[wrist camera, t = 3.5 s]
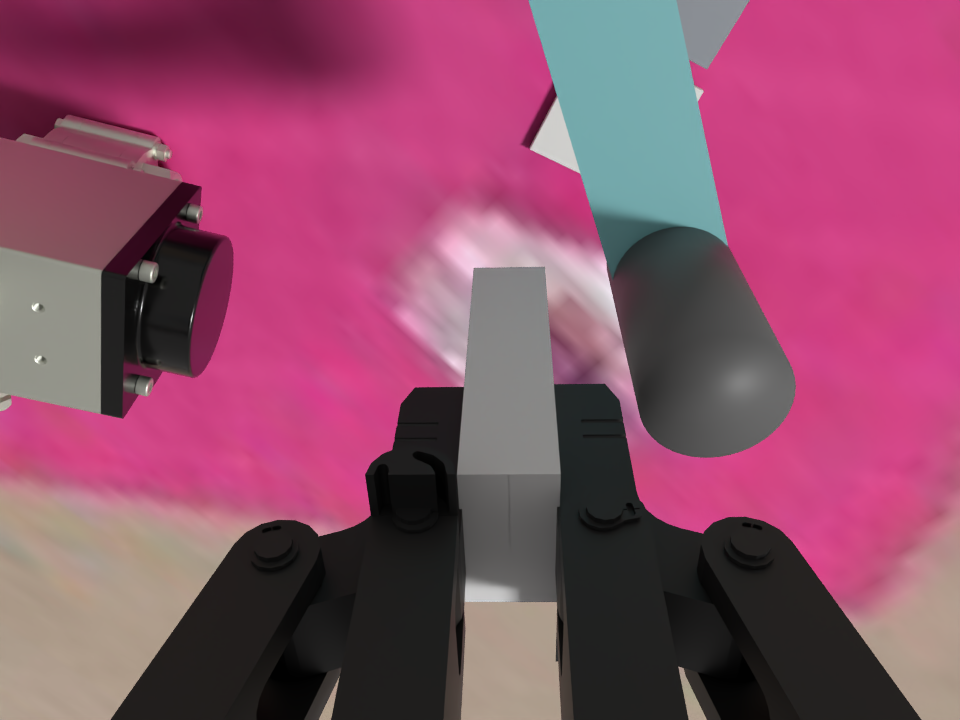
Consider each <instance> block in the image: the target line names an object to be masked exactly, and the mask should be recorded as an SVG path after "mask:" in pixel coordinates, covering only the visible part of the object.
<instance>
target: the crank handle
mask: <svg viewBox="0 0 960 720" xmlns="http://www.w3.org/2000/svg"><path fill="white" fill-rule="evenodd" d="M529 4H530V7H531V10H532V14H533V17H534V20H535V24H536V27H537V30H538V34H539V37H540V40H541V44H542V47H543V50H544V54H545V57H546V60H547V64H548V67H549V70H550V74H551V77H552V80H553V84H554V87H555V90H556V94H557V97H558V100H559V104H560V107H561V110H562V114H563V117H564V120H565V124H566V127H567V130H568V134H569V137H570V140H571V144H572V147H573V150H574V154H575V157H576V160H577V164H578V167H579V170H580V174H581V177H582V180H583V184H584V187H585V190H586V194H587V197H588V200H589V204H590V207H591V210H592V214H593V217H594V220H595V224H596V227H597V231H598V234H599V237H600V241H601V244H602V247H603V251H604V254H605V257H606V261H607V272H608V277H609V281H610V285H611V290H612V294H613V299H614V303H615V308H616V312H617V316H618V321H619V325H620V330H621V334H622V339H623V343H624V347H625V352H626V356H627V361H628V365H629V369H630V374H631V378H632V383H633V387H634V392H635V396H636V400H637V405H638V409H639V414H640V418H641V420H642V423H643V425H644V427H645V428H646V430H647V432H648V433H649V434H650V435H651V436H652V438H654V439H655V440H656V441H657V442H658V443H659V444H661V445H662V446H664V447H666V448H667V449H670V450H672V451H674V452H677V453H680V454H683V455H687V456H692V457H721V456H726V455H731V454H734V453H738V452H741V451H743V450H746V449H748V448H750V447H752V446H754V445H756V444H758V443H759V442H761V441H762V440H764V439H765V438H767V437H768V436H769V435H770V434H772V433H773V432H774V431H775V430H776V429H777V428H778V427H779V426H780V424H781V423H782V422H783V421H784V419H785V418H786V416H787V414H788V413H789V411H790V409H791V406H792V404H793V400H794V396H795V387H796V385H795V377H794V373H793V370H792V367H791V365H790V363H789V361H788V359H787V357H786V355H785V353H784V352H783V350H782V348H781V346H780V344H779V342H778V340H777V338H776V336H775V334H774V333H773V331H772V329H771V327H770V325H769V323H768V321H767V319H766V317H765V315H764V313H763V312H762V310H761V308H760V306H759V304H758V302H757V300H756V298H755V296H754V294H753V292H752V291H751V289H750V287H749V285H748V283H747V281H746V279H745V277H744V275H743V273H742V271H741V270H740V268H739V266H738V264H737V262H736V260H735V258H734V256H733V254H732V252H731V250H730V249H729V247H728V245H727V240H726V235H725V231H724V226H723V221H722V216H721V211H720V207H719V202H718V197H717V192H716V188H715V183H714V178H713V173H712V168H711V164H710V159H709V154H708V149H707V145H706V140H705V135H704V130H703V125H702V121H701V116H700V111H699V106H698V101H697V97H696V92H695V87H694V82H693V78H692V73H691V68H690V63H689V58H688V54H687V49H686V44H685V39H684V34H683V30H682V25H681V20H680V15H679V11H678V6H677V1H676V0H529Z"/></svg>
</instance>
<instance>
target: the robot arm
mask: <svg viewBox="0 0 960 720" xmlns="http://www.w3.org/2000/svg"><path fill="white" fill-rule="evenodd" d="M365 477H366V484H367V491H368V498H369V504H370V511H371V516H370V517H369V518H367V519H366V520H365V521H363V522H361V523H359V524H358V525H356V526H354V527H351V528H348V529H345V530H342V531H339V532H335V533H331V534H327V535H323V536H319V537H318V534H317V533H316V532H315V531H314V530H313V529H312V528H311V527H310V526H309V525H306V524H303V523H301V522H298V521H295V520H276V521H272V522H268V523H264V524H261V525H259V526H257V527H255V528H253V529H252V530H250V531H248V532H246V533H245V534H244V535H243V536H242V537H241V538H240V539H239V540H238V541H237V542H236V543H235V544H234V545H233V547H232V548H231V550H230V551H229V552H228V554H227V555H226V557H225V558H224V559H223V561H222V562H221V564H220V565H219V567H218V568H217V569H216V571H215V572H214V574H213V575H212V577H211V578H210V579H209V581H208V582H207V584H206V585H205V586H204V588H203V589H202V591H201V592H200V594H199V595H198V596H197V598H196V599H195V601H194V602H193V603H192V605H191V606H190V608H189V609H188V611H187V612H186V613H185V615H184V616H183V618H182V619H181V620H180V622H179V623H178V625H177V626H176V628H175V629H174V630H173V632H172V633H171V635H170V636H169V638H168V639H167V640H166V642H165V643H164V645H163V646H162V647H161V649H160V650H159V652H158V653H157V655H156V656H155V657H154V659H153V660H152V662H151V663H150V664H149V666H148V667H147V669H146V670H145V672H144V673H143V674H142V676H141V677H140V679H139V680H138V681H137V683H136V684H135V686H134V687H133V689H132V690H131V691H130V693H129V694H128V696H127V697H126V699H125V700H124V701H123V703H122V704H121V706H120V707H119V708H118V710H117V711H116V713H115V714H114V716H113V717H112V718H111V720H319V718H320V716H321V713H322V711H323V709H324V707H325V705H326V703H327V701H328V699H329V697H330V695H331V692H332V690H333V688H334V686H335V684H336V682H337V680H338V678H339V676H340V678H339V683H338V688H337V693H336V698H335V703H334V708H333V713H332V718H331V720H461V705H462V686H463V667H464V647H465V617H464V601H465V602H557V637H556V661H558V664H559V682H560V701H561V719H562V720H688V715H687V709H686V704H685V699H684V694H683V689H682V684H681V679H680V674H679V668H678V666H679V667H682V668H684V671H685V675H686V677H687V679H688V681H689V683H690V685H691V688H692V690H693V692H694V694H695V696H696V698H697V700H698V702H699V704H700V706H701V708H702V710H703V712H704V714H705V716H706V718H707V720H921V719H920V717H919V716H918V714H917V713H916V712H915V710H914V709H913V708H912V706H911V705H910V703H909V702H908V701H907V699H906V698H905V697H904V695H903V694H902V692H901V691H900V690H899V688H898V687H897V685H896V684H895V683H894V681H893V680H892V679H891V677H890V676H889V674H888V673H887V672H886V670H885V669H884V668H883V666H882V665H881V663H880V662H879V661H878V659H877V658H876V657H875V655H874V654H873V652H872V651H871V650H870V648H869V647H868V646H867V644H866V643H865V641H864V640H863V639H862V637H861V636H860V635H859V633H858V632H857V630H856V629H855V628H854V626H853V625H852V623H851V622H850V621H849V619H848V618H847V617H846V615H845V614H844V612H843V611H842V610H841V608H840V607H839V606H838V604H837V603H836V601H835V600H834V599H833V597H832V596H831V595H830V593H829V592H828V590H827V589H826V588H825V586H824V585H823V584H822V582H821V581H820V579H819V578H818V577H817V575H816V574H815V573H814V571H813V570H812V568H811V567H810V566H809V564H808V563H807V562H806V560H805V559H804V557H803V556H802V555H801V553H800V552H799V550H798V549H797V548H796V546H795V545H794V544H793V542H792V541H791V540H790V539H789V538H788V537H787V536H786V535H785V534H784V533H783V532H782V531H781V530H779V529H778V528H776V527H774V526H772V525H770V524H768V523H766V522H764V521H761V520H757V519H752V518H748V517H728V518H725V519H722V520H719V521H717V522H714V523H713V524H712V525H711V526H710V527H708V528H707V529H706V530H705V531H704V534H702V533H698V532H694V531H690V530H685V529H681V528H678V527H675V526H672V525H669V524H667V523H665V522H663V521H661V520H659V519H657V518H656V517H654V516H653V515H652V514H651V513H650V512H648V511H647V510H646V509H645V507H644V504H643V503H642V502H641V501H640V500H639V497H638V495H637V491H636V486H635V481H634V476H633V470H632V465H631V460H630V454H629V449H628V444H627V438H626V433H625V428H624V423H623V417H622V412H621V407H620V401H619V399H618V398H617V397H616V396H615V395H614V394H613V393H612V391H611V390H610V389H609V388H608V387H607V386H606V385H605V384H554V380H553V367H552V354H551V342H550V329H549V316H548V303H547V290H546V277H545V267H508V268H474V271H473V283H472V296H471V308H470V320H469V333H468V345H467V357H466V369H465V382H464V387H419V388H414V389H413V391H412V392H411V393H410V394H409V395H408V396H407V398H406V399H405V400H404V401H403V402H402V403H401V407H400V412H399V417H398V426H397V428H396V433H395V442H394V444H393V449H392V450H391V451H389V452H386V453H384V454H382V455H381V456H380V457H378V458H377V459H376V460H375V461H373V462H372V463H371V465H370V466H369V468H368V470H367V472H366V474H365ZM340 672H341V673H340Z"/></svg>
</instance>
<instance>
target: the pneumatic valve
mask: <svg viewBox="0 0 960 720" xmlns="http://www.w3.org/2000/svg"><path fill="white" fill-rule="evenodd" d="M171 157H172V151H171V150H170V149H169V146H167V145H164V144H162V143H161V140H160V138H159V137H156V136H152V135H148V134H144V133H140V132H136V131H132V130H128V129H124V128H120V127H116V126H112V125H108V124H104V123H100V122H96V121H92V120H88V119H84V118H80V117H76V116H73V115H67V116H66V117H65V118H64V119H60V118H58V119H57V120H56V122H55V125H54V129H53V130H51V131H50V132H49V133H48V134H46V135H45V137H44V138H40V137H36V136H32V135H28V134H23V135H21V136H20V137H19V138H17V140H16V141H14V140H10V139H6V138H2V137H0V411H3V410H5V409H7V408H9V407H10V405H11V395H14V396H18V397H23V398H28V399H32V400H37V401H42V402H47V403H51V404H56V405H61V406H66V407H70V408H75V409H80V410H85V411H89V412H94V413H99V414H103V415H108V416H113V417H118V418H122V419H123V418H124V417H125V415H126V414H127V412H128V411H129V409H130V407H131V406H132V404H133V403H134V401H135V400H136V398H137V397H138V395H143V396H148V395H150V393H151V391H152V388H153V386H154V385H155V383H156V381H157V380H158V378H159V377H160V375H161V373H162V372H163V371H164V372H168V373H173V374H177V375H182V376H187V377H191V378H195V377H198V376H199V375H200V374H201V373H202V372H203V371H204V370H205V368H206V366H207V365H208V363H209V361H210V359H211V357H212V355H213V352H214V350H215V347H216V345H217V342H218V339H219V336H220V333H221V329H222V326H223V322H224V319H225V315H226V310H227V306H228V301H229V296H230V290H231V284H232V276H233V247H232V243H231V241H230V239H229V238H228V237H227V236H224V235H220V234H215V233H211V232H207V231H203V230H199V223H200V221H201V219H202V215H203V208H202V206H200V203H201V190H202V187H201V186H197V185H193V184H188V183H184V182H182V177H181V175H180V174H179V173H177V172H175V171H172V170H170V169H165V168H161V167H158V161H159V160H160V161H164V162H166V161H167V160H168V159H170V158H171Z"/></svg>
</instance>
